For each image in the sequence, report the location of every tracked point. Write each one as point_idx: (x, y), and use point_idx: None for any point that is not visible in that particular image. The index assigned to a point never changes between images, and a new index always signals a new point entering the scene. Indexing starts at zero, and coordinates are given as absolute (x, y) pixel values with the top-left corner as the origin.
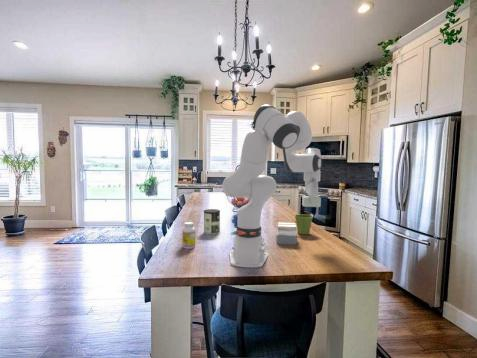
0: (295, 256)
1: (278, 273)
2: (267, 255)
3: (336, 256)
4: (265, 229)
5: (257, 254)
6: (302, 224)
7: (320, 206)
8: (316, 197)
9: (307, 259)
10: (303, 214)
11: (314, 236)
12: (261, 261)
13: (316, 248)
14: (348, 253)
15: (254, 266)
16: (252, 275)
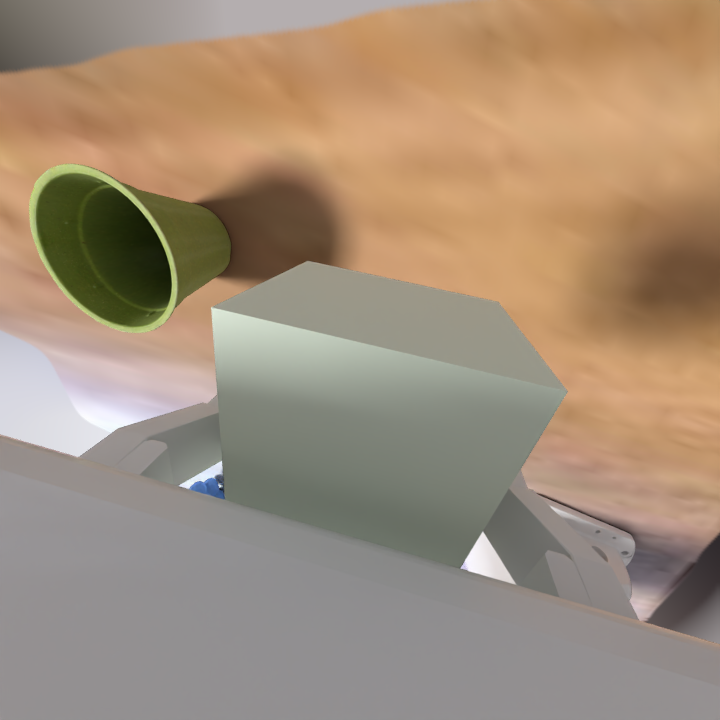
0: (573, 411)
1: (714, 512)
2: (548, 503)
3: (662, 208)
4: (177, 407)
5: (629, 577)
6: (199, 276)
7: (500, 308)
8: (462, 471)
9: (631, 378)
10: (37, 236)
11: (258, 191)
12: (606, 535)
13: (490, 273)
14: (649, 80)
15: (631, 555)
16: (684, 567)
